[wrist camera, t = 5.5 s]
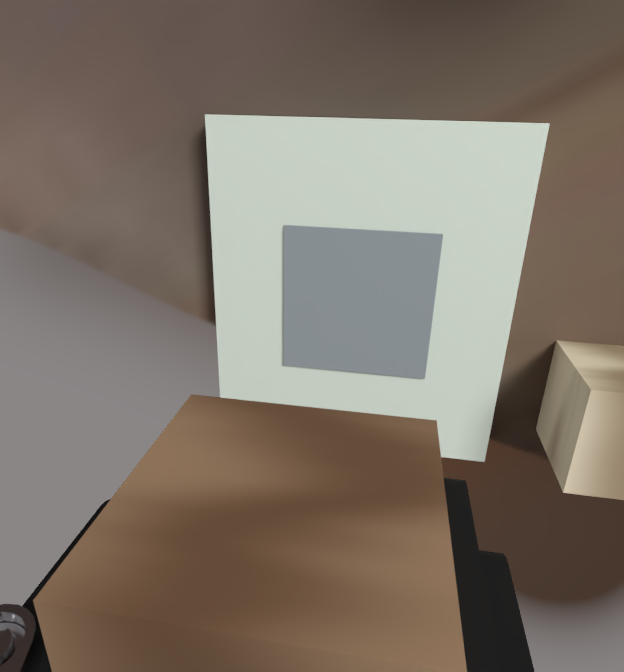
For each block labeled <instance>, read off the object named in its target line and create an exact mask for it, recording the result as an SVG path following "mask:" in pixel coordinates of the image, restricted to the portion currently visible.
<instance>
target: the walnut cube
mask: <svg viewBox="0 0 624 672" xmlns="http://www.w3.org/2000/svg"><path fill="white" fill-rule="evenodd" d="M33 602H34V606H35V610H36V614H37V617H38V621H39V625H40V629H41V632H42V636H43V640H44V644H45V648H46V651H47V655H48V659H49V663H50V666H51V670H52V672H467V667H466V659H465V651H464V643H463V634H462V626H461V618H460V610H459V601H458V593H457V585H456V577H455V568H454V560H453V552H452V544H451V535H450V527H449V519H448V511H447V502H446V494H445V486H444V478H443V470H442V461H441V453H440V445H439V436H438V428H437V420H428V419H418V418H409V417H399V416H390V415H380V414H371V413H362V412H352V411H343V410H333V409H324V408H314V407H305V406H296V405H286V404H277V403H267V402H258V401H248V400H239V399H230V398H220V397H210V396H200V395H191V396H190V397H189V398H188V400H187V401H186V402H185V403H184V405H183V406H182V407H181V409H180V410H179V411H178V413H177V414H176V415H175V416H174V418H173V419H172V420H171V422H170V423H169V424H168V425H167V427H166V428H165V429H164V431H163V432H162V433H161V435H160V436H159V437H158V438H157V440H156V441H155V443H154V444H153V445H152V446H151V448H150V449H149V450H148V452H147V453H146V454H145V455H144V457H143V458H142V459H141V461H140V462H139V463H138V465H137V466H136V467H135V468H134V470H133V471H132V472H131V474H130V475H129V476H128V478H127V479H126V480H125V481H124V483H123V484H122V485H121V487H120V488H119V489H118V491H117V492H116V493H115V495H114V496H113V497H112V498H111V500H110V501H109V502H108V504H107V505H106V506H105V507H104V509H103V510H102V511H101V513H100V514H99V515H98V517H97V518H96V519H95V520H94V522H93V523H92V524H91V526H90V527H89V528H88V530H87V531H86V532H85V534H84V535H83V536H82V537H81V539H80V540H79V541H78V543H77V544H76V545H75V547H74V548H73V549H72V550H71V552H70V553H69V554H68V556H67V557H66V558H65V560H64V561H63V562H62V563H61V565H60V566H59V567H58V569H57V570H56V571H55V573H54V574H53V575H52V576H51V578H50V579H49V580H48V582H47V583H46V584H45V586H44V587H43V588H42V589H41V591H40V592H39V593H38V595H37V596H36V597H35V599H34V600H33Z"/></svg>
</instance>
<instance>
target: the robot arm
mask: <svg viewBox="0 0 624 672" xmlns="http://www.w3.org/2000/svg"><path fill="white" fill-rule="evenodd" d="M444 486H445V494H446V502H447V511H448V519H449V527H450V535H451V544H452V552H453V560H454V568H455V577H456V585H457V593H458V601H459V610H460V618H461V626H462V634H463V643H464V651H465V659H466V667H467V672H534V668H533V664H532V660H531V656H530V652H529V648H528V644H527V639H526V635H525V632H524V627H523V623H522V619H521V615H520V611H519V607H518V603H517V599H516V594H515V590H514V586H513V582H512V578H511V574H510V570H509V565H508V562H507V559H506V557H505V556H504V554H501V553H494V552H487V551H480V550H479V549H478V544H477V538H476V533H475V528H474V522H473V516H472V511H471V506H470V500H469V494H468V489H467V484H466V481H465V480H457V479H449V478H444ZM110 500H111V499H110ZM110 500H107V501H105V502H104V503H103V504H102V505H101V506H100V507H99V509H98V510H97V511H96V513H95V514H94V515H93V516H92V518H91V519H90V520H89V522H88V523H87V524H86V525H85V527H84V528H83V529H82V531H81V532H80V533H79V534H78V536H77V537H76V538H75V539H74V541H73V542H72V543H71V545H70V546H69V547H68V548H67V550H66V551H65V552H64V554H63V555H62V556H61V557H60V559H59V560H58V561H57V562H56V564H55V565H54V566H53V568H52V569H51V570H50V571H49V573H48V574H47V575H46V576H45V578H44V579H43V580H42V582H41V583H40V584H39V586H38V587H37V588H36V589H35V591H34V592H33V593H32V594H31V596H30V597H29V598H28V599H27V601H26V602H25V603H24V605H23V606H20V605H13V604H2V605H0V672H52V670H51V666H50V663H49V659H48V655H47V651H46V648H45V644H44V640H43V636H42V632H41V629H40V625H39V621H38V617H37V614H36V610H35V606H34V602H33V600H34V599H35V597H36V596H37V595H38V593H39V592H40V591H41V589H42V588H43V587H44V586H45V584H46V583H47V582H48V580H49V579H50V578H51V576H52V575H53V574H54V573H55V571H56V570H57V569H58V567H59V566H60V565H61V563H62V562H63V561H64V560H65V558H66V557H67V556H68V554H69V553H70V552H71V550H72V549H73V548H74V547H75V545H76V544H77V543H78V541H79V540H80V539H81V537H82V536H83V535H84V534H85V532H86V531H87V530H88V528H89V527H90V526H91V524H92V523H93V522H94V520H95V519H96V518H97V517H98V515H99V514H100V513H101V511H102V510H103V509H104V507H105V506H106V505H107V504H108V502H109V501H110Z"/></svg>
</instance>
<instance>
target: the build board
mask: <svg viewBox="0 0 624 672" xmlns="http://www.w3.org/2000/svg"><path fill="white" fill-rule="evenodd" d="M549 124H550V123H514V122H476V121H437V120H399V119H361V118H323V117H284V116H246V115H208V114H205V125H206V144H207V163H208V182H209V200H210V219H211V238H212V257H213V276H214V295H215V313H216V332H217V351H218V369H219V389H220V398H230V399H239V400H248V401H258V402H267V403H277V404H286V405H296V406H305V407H314V408H324V409H333V410H343V411H352V412H362V413H371V414H380V415H390V416H399V417H409V418H418V419H428V420H437V428H438V436H439V445H440V453H441V457H446V458H455V459H463V460H471V461H480V462H485V457H486V452H487V447H488V441H489V436H490V431H491V426H492V421H493V415H494V410H495V405H496V400H497V395H498V389H499V384H500V379H501V374H502V369H503V363H504V358H505V353H506V348H507V343H508V337H509V332H510V327H511V322H512V316H513V311H514V306H515V301H516V296H517V290H518V285H519V280H520V275H521V270H522V264H523V259H524V254H525V249H526V244H527V238H528V233H529V228H530V223H531V218H532V212H533V207H534V202H535V197H536V191H537V186H538V181H539V176H540V171H541V165H542V160H543V155H544V150H545V145H546V139H547V134H548V129H549Z"/></svg>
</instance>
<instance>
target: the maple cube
mask: <svg viewBox="0 0 624 672" xmlns="http://www.w3.org/2000/svg"><path fill="white" fill-rule="evenodd" d="M536 431H537V433H538V436H539V438H540V440H541V443H542V445H543V447H544V450H545V452H546V454H547V456H548V459H549V461H550V463H551V466H552V468H553V470H554V473H555V475H556V477H557V480H558V482H559V484H560V487H561V489H562V491H563V493H571V494H579V495H587V496H595V497H604V498H611V499H620V500H624V346H616V345H604V344H592V343H580V342H568V341H556V344H555V349H554V353H553V357H552V361H551V366H550V370H549V374H548V379H547V383H546V387H545V392H544V396H543V400H542V405H541V409H540V413H539V417H538V422H537V426H536Z"/></svg>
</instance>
